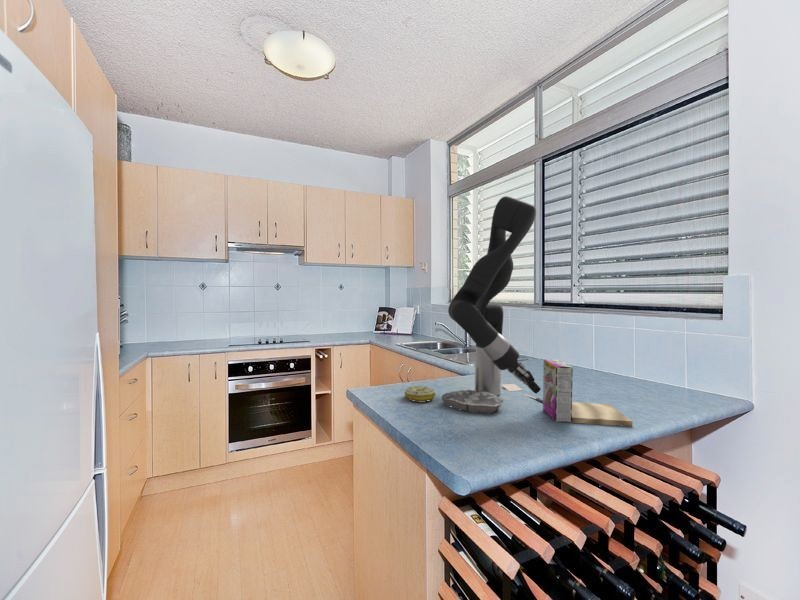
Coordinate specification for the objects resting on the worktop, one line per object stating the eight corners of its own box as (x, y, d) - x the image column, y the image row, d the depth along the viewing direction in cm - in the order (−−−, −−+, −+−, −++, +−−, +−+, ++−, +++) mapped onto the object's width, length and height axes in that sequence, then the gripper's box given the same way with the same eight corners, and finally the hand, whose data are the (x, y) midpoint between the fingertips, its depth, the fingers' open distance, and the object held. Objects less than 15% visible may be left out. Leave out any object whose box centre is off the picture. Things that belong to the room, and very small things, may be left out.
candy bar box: (541, 410, 118) (542, 359, 118) (557, 410, 118) (558, 359, 118) (554, 422, 107) (556, 366, 107) (572, 423, 107) (573, 366, 106)
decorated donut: (424, 393, 136) (425, 383, 136) (440, 401, 127) (441, 390, 127) (399, 396, 131) (399, 386, 131) (414, 405, 122) (414, 393, 122)
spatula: (514, 387, 148) (514, 383, 148) (567, 410, 120) (567, 406, 120) (500, 388, 146) (500, 384, 146) (551, 412, 118) (551, 407, 118)
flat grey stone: (507, 403, 126) (507, 394, 126) (498, 418, 111) (498, 408, 110) (451, 395, 134) (451, 387, 134) (436, 409, 119) (436, 399, 119)
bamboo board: (572, 422, 107) (572, 417, 107) (557, 405, 123) (557, 401, 123) (632, 426, 105) (632, 421, 105) (609, 408, 120) (609, 404, 120)
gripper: (517, 345, 104) (557, 387, 105) (499, 338, 117) (536, 377, 118) (498, 364, 103) (539, 406, 105) (483, 355, 116) (519, 393, 118)
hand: (537, 390), depth 112 cm, fingers closed
